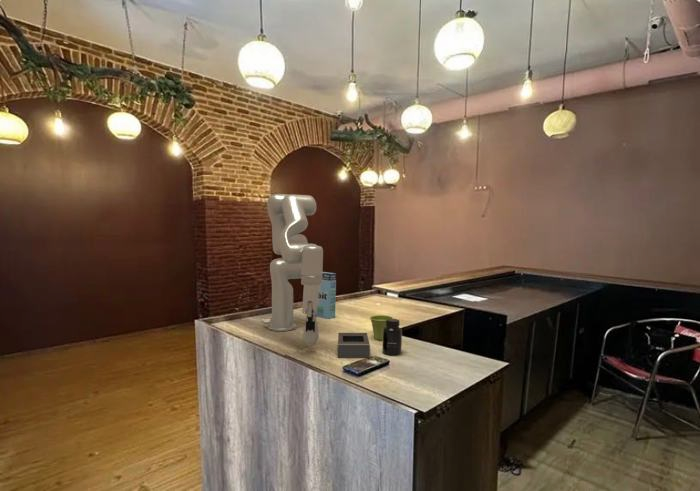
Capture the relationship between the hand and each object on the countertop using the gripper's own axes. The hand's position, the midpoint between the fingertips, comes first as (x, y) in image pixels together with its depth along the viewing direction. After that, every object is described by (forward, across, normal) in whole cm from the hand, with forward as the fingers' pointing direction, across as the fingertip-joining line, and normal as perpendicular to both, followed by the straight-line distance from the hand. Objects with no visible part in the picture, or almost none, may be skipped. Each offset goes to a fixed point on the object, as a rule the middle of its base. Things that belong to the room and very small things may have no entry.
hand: (310, 329), depth 132 cm
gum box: (+10, -59, 0) cm, 60 cm away
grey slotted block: (+8, -1, +16) cm, 17 cm away
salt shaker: (+5, 0, 0) cm, 5 cm away
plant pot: (+8, -17, +28) cm, 33 cm away
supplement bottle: (+8, +1, +30) cm, 31 cm away
